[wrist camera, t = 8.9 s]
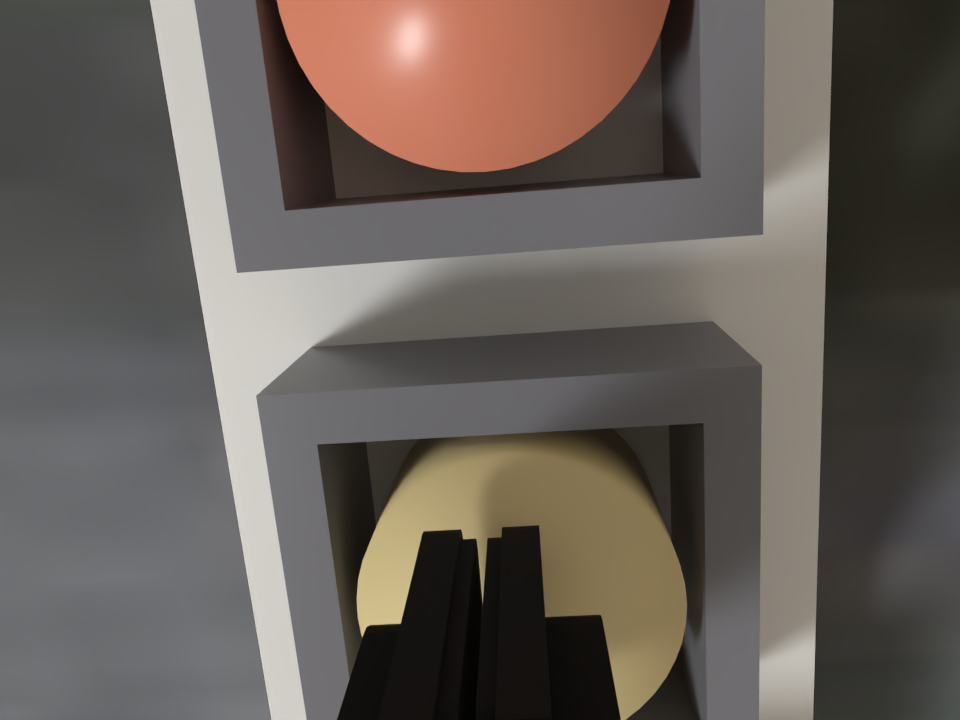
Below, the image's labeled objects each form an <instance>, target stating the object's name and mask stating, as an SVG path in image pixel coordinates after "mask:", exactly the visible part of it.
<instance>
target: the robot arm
mask: <svg viewBox="0 0 960 720" xmlns="http://www.w3.org/2000/svg"><path fill="white" fill-rule="evenodd" d="M337 720H621V718H620V712H619V707H618V701H617V696H616V691H615V685H614V680H613V674H612V669H611V663H610V658H609V652H608V647H607V642H606V636H605V631H604V625H603V620H602V616H601V615H580V616H558V617H545V604H544V590H543V575H542V560H541V545H540V530H539V525H534V526H515V527H502V535H501V537H497V538H488V539H487V552H486V566H485V580H484V594H483V602H482V591H481V579H480V568H479V557H478V547H477V540H476V539H463V535H462V531H461V529H459V530H440V531H423V534H422V537H421V542H420V546H419V550H418V554H417V558H416V562H415V566H414V571H413V575H412V579H411V583H410V587H409V591H408V596H407V600H406V604H405V608H404V612H403V616H402V621H401V624H383V625H369V626H367V627H366V630H365V632H364V634H363V637H362V641H361V644H360V647H359V650H358V654H357V657H356V660H355V663H354V666H353V670H352V673H351V676H350V679H349V682H348V686H347V689H346V692H345V695H344V698H343V702H342V705H341V708H340V711H339V715H338V718H337Z"/></svg>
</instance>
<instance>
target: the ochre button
mask: <svg viewBox="0 0 960 720" xmlns="http://www.w3.org/2000/svg"><path fill="white" fill-rule="evenodd" d="M534 525H539V530H540V545H541V560H542V575H543V590H544V604H545V617H558V616H580V615H601V616H602V620H603V625H604V631H605V636H606V642H607V647H608V652H609V658H610V663H611V669H612V674H613V680H614V685H615V691H616V696H617V701H618V707H619V712H620V718H621V720H626V719H627V718H628V717H630V716H631V715H632V714H633V713H635V712H636V711H637V710H639V709H640V708H641V707H642V706H643V705H644V704H645V703H646V702H647V701H648V700H649V699H650V698H651V697H652V696H653V695H654V694H655V692H656V691H657V690H658V688H659V687H660V686H661V684H662V683H663V681H664V680H665V679H666V677H667V675H668V674H669V672H670V670H671V668H672V666H673V664H674V662H675V660H676V658H677V655H678V652H679V650H680V647H681V644H682V640H683V636H684V631H685V626H686V614H687V598H686V588H685V582H684V578H683V574H682V570H681V566H680V563H679V560H678V558H677V555H676V552H675V549H674V547H673V544H672V541H671V539H670V536H669V533H668V531H667V528H666V525H665V523H664V520H663V517H662V514H661V512H660V509H659V506H658V504H657V501H656V498H655V496H654V493H653V490H652V487H651V485H650V482H649V480H648V477H647V475H646V472H645V470H644V468H643V466H642V464H641V463H640V461H639V459H638V457H637V456H636V454H635V453H634V451H633V450H632V449H631V448H630V446H629V445H628V444H627V442H626V441H625V440H624V439H623V438H622V437H621V436H620V435H619V434H618V433H617V432H616V431H615V430H614V429H613V428H607V429H588V430H570V431H552V432H534V433H516V434H498V435H480V436H462V437H444V438H426V439H419V440H418V441H417V443H416V444H415V445H414V446H413V448H412V449H411V450H410V452H409V453H408V455H407V457H406V458H405V460H404V462H403V464H402V465H401V467H400V470H399V472H398V475H397V477H396V480H395V482H394V485H393V487H392V489H391V492H390V494H389V497H388V499H387V502H386V504H385V507H384V509H383V511H382V514H381V516H380V519H379V521H378V524H377V526H376V529H375V531H374V533H373V536H372V538H371V541H370V543H369V546H368V548H367V551H366V553H365V556H364V558H363V561H362V565H361V569H360V574H359V578H358V587H357V614H358V621H359V626H360V631H361V636H362V637H363V634H364V632H365V630H366V627H367V626H369V625H383V624H401V621H402V616H403V612H404V608H405V604H406V600H407V596H408V591H409V587H410V583H411V579H412V575H413V571H414V566H415V562H416V558H417V554H418V550H419V546H420V542H421V537H422V534H423V531H440V530H459V529H461V531H462V535H463V539H476V540H477V547H478V557H479V568H480V579H481V591H482V602H483V594H484V580H485V566H486V552H487V539H488V538H497V537H501V535H502V527H515V526H534Z"/></svg>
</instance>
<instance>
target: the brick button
mask: <svg viewBox="0 0 960 720" xmlns="http://www.w3.org/2000/svg"><path fill="white" fill-rule="evenodd" d="M277 3H278V8H279V13H280V16H281V19H282V23H283V26H284V29H285V32H286V35H287V38H288V41H289V43H290V45H291V47H292V49H293V52H294V54H295V56H296V58H297V60H298V63H299V65H300V66H301V68H302V69H303V71H304V73H305V74H306V76H307V78H308V79H309V81H310V83H311V84H312V86H313V87H314V89H315V90H316V91H317V92H318V94H319V95H320V96H321V97H322V99H323V100H324V101H325V102H326V104H327V105H328V106H329V107H330V108H331V109H332V110H333V111H334V112H335V113H336V114H337V115H338V116H339V117H340V118H341V119H342V120H343V121H344V122H345V123H346V124H347V125H348V126H349V127H351V128H352V129H353V130H354V131H356V132H357V133H358V134H360V135H361V136H362V137H364V138H365V139H366V140H368V141H369V142H371V143H373V144H374V145H376V146H378V147H380V148H381V149H383V150H385V151H387V152H388V153H390V154H393V155H395V156H398V157H400V158H402V159H405V160H407V161H410V162H412V163H415V164H419V165H423V166H427V167H431V168H435V169H440V170H448V171H456V172H489V171H496V170H502V169H509V168H514V167H517V166H520V165H524V164H527V163H531V162H534V161H537V160H539V159H541V158H544V157H546V156H548V155H551V154H553V153H555V152H557V151H559V150H561V149H563V148H564V147H566V146H568V145H569V144H571V143H573V142H574V141H576V140H578V139H579V138H581V137H582V136H583V135H585V134H586V133H587V132H588V131H590V130H591V129H592V128H593V127H595V126H596V125H597V124H598V123H600V122H601V121H602V120H603V119H604V118H605V117H606V116H607V115H608V114H609V113H610V112H611V111H612V110H613V109H614V108H615V107H616V106H617V105H618V104H619V103H620V101H621V100H622V99H623V97H624V96H625V95H626V93H627V92H628V91H629V89H630V88H631V87H632V85H633V84H634V83H635V82H636V80H637V79H638V77H639V75H640V73H641V72H642V70H643V68H644V66H645V65H646V63H647V61H648V60H649V58H650V56H651V54H652V51H653V49H654V47H655V44H656V42H657V40H658V37H659V35H660V33H661V30H662V27H663V24H664V20H665V17H666V13H667V10H668V7H669V3H670V0H277Z"/></svg>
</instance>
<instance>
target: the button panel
mask: <svg viewBox="0 0 960 720" xmlns="http://www.w3.org/2000/svg"><path fill="white" fill-rule="evenodd" d="M150 3H151V9H152V14H153V20H154V26H155V32H156V38H157V44H158V50H159V56H160V62H161V68H162V74H163V80H164V85H165V91H166V97H167V103H168V109H169V115H170V121H171V127H172V133H173V139H174V145H175V151H176V156H177V162H178V168H179V174H180V180H181V186H182V192H183V198H184V204H185V210H186V216H187V222H188V227H189V233H190V239H191V245H192V251H193V257H194V263H195V269H196V275H197V281H198V287H199V293H200V298H201V304H202V310H203V316H204V322H205V328H206V334H207V340H208V346H209V352H210V358H211V364H212V370H213V375H214V381H215V387H216V393H217V399H218V405H219V411H220V417H221V423H222V429H223V435H224V441H225V446H226V452H227V458H228V464H229V470H230V476H231V482H232V488H233V494H234V500H235V506H236V512H237V517H238V523H239V529H240V535H241V541H242V547H243V553H244V559H245V565H246V571H247V577H248V583H249V588H250V594H251V600H252V606H253V612H254V618H255V624H256V630H257V636H258V642H259V648H260V654H261V659H262V665H263V671H264V677H265V683H266V689H267V695H268V701H269V707H270V713H271V719H272V720H337V718H338V715H339V711H340V708H341V705H342V702H343V698H344V695H345V692H346V689H347V686H348V682H349V679H350V676H351V673H352V670H353V666H354V663H355V660H356V657H357V654H358V650H359V647H360V644H361V641H362V636H361V631H360V626H359V621H358V614H357V587H358V578H359V574H360V569H361V565H362V561H363V558H364V556H365V553H366V551H367V548H368V546H369V543H370V541H371V538H372V536H373V533H374V531H375V529H376V526H377V524H378V521H379V519H380V516H381V514H382V511H383V509H384V507H385V504H386V502H387V499H388V497H389V494H390V492H391V489H392V487H393V485H394V482H395V480H396V477H397V475H398V472H399V470H400V467H401V465H402V464H403V462H404V460H405V458H406V457H407V455H408V453H409V452H410V450H411V449H412V448H413V446H414V445H415V444H416V443H417V441H418V440H419V439H426V438H444V437H462V436H480V435H498V434H516V433H534V432H552V431H570V430H588V429H607V428H613V429H614V430H615V431H616V432H617V433H618V434H619V435H620V436H621V437H622V438H623V439H624V440H625V441H626V442H627V444H628V445H629V446H630V448H631V449H632V450H633V451H634V453H635V454H636V456H637V457H638V459H639V461H640V463H641V464H642V466H643V468H644V470H645V472H646V475H647V477H648V480H649V482H650V485H651V487H652V490H653V493H654V496H655V498H656V501H657V504H658V506H659V509H660V512H661V514H662V517H663V520H664V523H665V525H666V528H667V531H668V533H669V536H670V539H671V541H672V544H673V547H674V549H675V552H676V555H677V558H678V560H679V563H680V566H681V570H682V574H683V578H684V582H685V588H686V598H687V614H686V626H685V631H684V636H683V640H682V644H681V647H680V650H679V652H678V655H677V658H676V660H675V662H674V664H673V666H672V668H671V670H670V672H669V674H668V675H667V677H666V679H665V680H664V681H663V683H662V684H661V686H660V687H659V688H658V690H657V691H656V692H655V694H654V695H653V696H652V697H651V698H650V699H649V700H648V701H647V702H646V703H645V704H644V705H643V706H642V707H641V708H640V709H639V710H637V711H636V712H635V713H633V714H632V715H631V716H630V717H628V718H627V719H626V720H813V705H814V670H815V634H816V599H817V563H818V528H819V493H820V457H821V422H822V387H823V351H824V316H825V280H826V245H827V210H828V174H829V139H830V103H831V68H832V33H833V0H670V3H669V7H668V10H667V13H666V17H665V20H664V24H663V27H662V30H661V33H660V35H659V37H658V40H657V42H656V44H655V47H654V49H653V51H652V54H651V56H650V58H649V60H648V61H647V63H646V65H645V66H644V68H643V70H642V72H641V73H640V75H639V77H638V79H637V80H636V82H635V83H634V84H633V85H632V87H631V88H630V89H629V91H628V92H627V93H626V95H625V96H624V97H623V99H622V100H621V101H620V103H619V104H618V105H617V106H616V107H615V108H614V109H613V110H612V111H611V112H610V113H609V114H608V115H607V116H606V117H605V118H604V119H603V120H602V121H601V122H600V123H598V124H597V125H596V126H595V127H593V128H592V129H591V130H590V131H588V132H587V133H586V134H585V135H583V136H582V137H581V138H579V139H578V140H576V141H574V142H573V143H571V144H569V145H568V146H566V147H564V148H563V149H561V150H559V151H557V152H555V153H553V154H551V155H548V156H546V157H544V158H541V159H539V160H537V161H534V162H531V163H527V164H524V165H520V166H517V167H514V168H509V169H502V170H496V171H489V172H456V171H448V170H440V169H435V168H431V167H427V166H423V165H419V164H415V163H412V162H410V161H407V160H405V159H402V158H400V157H398V156H395V155H393V154H390V153H388V152H387V151H385V150H383V149H381V148H380V147H378V146H376V145H374V144H373V143H371V142H369V141H368V140H366V139H365V138H364V137H362V136H361V135H360V134H358V133H357V132H356V131H354V130H353V129H352V128H351V127H349V126H348V125H347V124H346V123H345V122H344V121H343V120H342V119H341V118H340V117H339V116H338V115H337V114H336V113H335V112H334V111H333V110H332V109H331V108H330V107H329V106H328V105H327V104H326V102H325V101H324V100H323V99H322V97H321V96H320V95H319V94H318V92H317V91H316V90H315V89H314V87H313V86H312V84H311V83H310V81H309V79H308V78H307V76H306V74H305V73H304V71H303V69H302V68H301V66H300V65H299V63H298V60H297V58H296V56H295V54H294V52H293V49H292V47H291V45H290V43H289V41H288V38H287V35H286V32H285V29H284V26H283V23H282V19H281V16H280V13H279V8H278V3H277V0H150Z"/></svg>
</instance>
